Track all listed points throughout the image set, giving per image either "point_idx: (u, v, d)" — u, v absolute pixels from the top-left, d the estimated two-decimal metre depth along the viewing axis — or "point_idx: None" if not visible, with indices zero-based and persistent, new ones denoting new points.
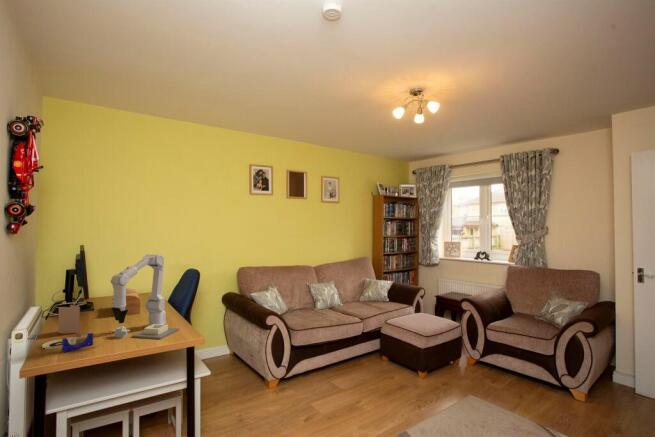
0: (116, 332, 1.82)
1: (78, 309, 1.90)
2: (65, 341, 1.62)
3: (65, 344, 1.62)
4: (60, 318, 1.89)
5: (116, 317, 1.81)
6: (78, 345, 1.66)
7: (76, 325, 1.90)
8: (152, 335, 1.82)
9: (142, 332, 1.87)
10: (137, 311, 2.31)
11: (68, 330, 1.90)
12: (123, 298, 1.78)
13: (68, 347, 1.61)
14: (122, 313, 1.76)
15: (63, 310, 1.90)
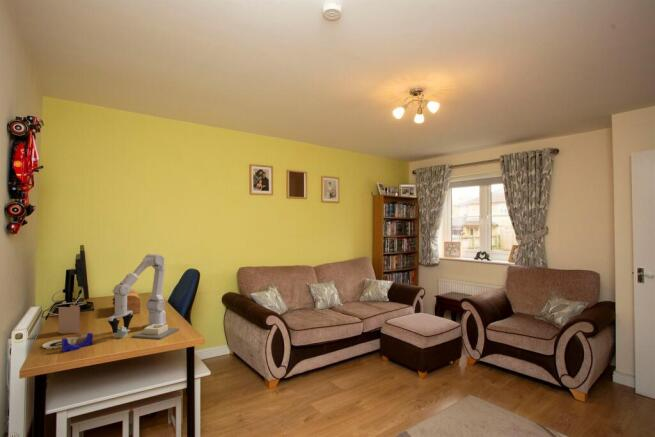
0: None
1: (78, 309, 1.90)
2: (65, 341, 1.62)
3: (65, 344, 1.62)
4: (60, 318, 1.89)
5: (124, 325, 1.87)
6: (78, 345, 1.67)
7: (76, 325, 1.90)
8: (152, 335, 1.82)
9: (142, 332, 1.87)
10: (137, 311, 2.31)
11: (68, 330, 1.90)
12: (119, 308, 1.81)
13: (68, 347, 1.62)
14: None
15: (63, 310, 1.90)
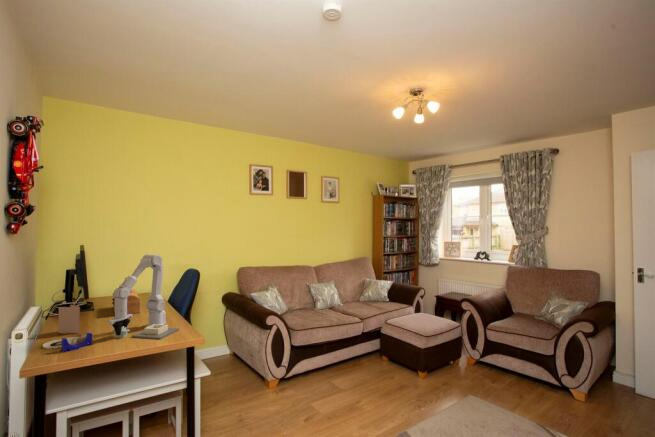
0: None
1: (78, 309, 1.90)
2: (64, 341, 1.62)
3: (64, 344, 1.62)
4: (60, 318, 1.89)
5: None
6: (77, 345, 1.67)
7: (76, 325, 1.90)
8: (152, 335, 1.82)
9: (142, 332, 1.87)
10: (137, 311, 2.32)
11: (68, 330, 1.90)
12: (119, 312, 1.81)
13: (67, 347, 1.62)
14: None
15: (63, 310, 1.90)
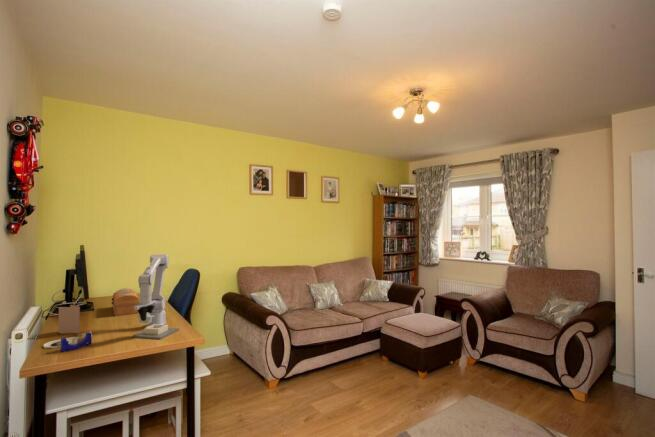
0: None
1: (78, 309, 1.90)
2: (64, 341, 1.63)
3: (64, 343, 1.63)
4: (60, 318, 1.89)
5: None
6: (77, 344, 1.67)
7: (76, 325, 1.90)
8: (152, 335, 1.82)
9: (142, 332, 1.87)
10: (136, 311, 2.32)
11: (68, 330, 1.90)
12: (144, 298, 1.84)
13: (67, 346, 1.62)
14: None
15: (63, 309, 1.90)
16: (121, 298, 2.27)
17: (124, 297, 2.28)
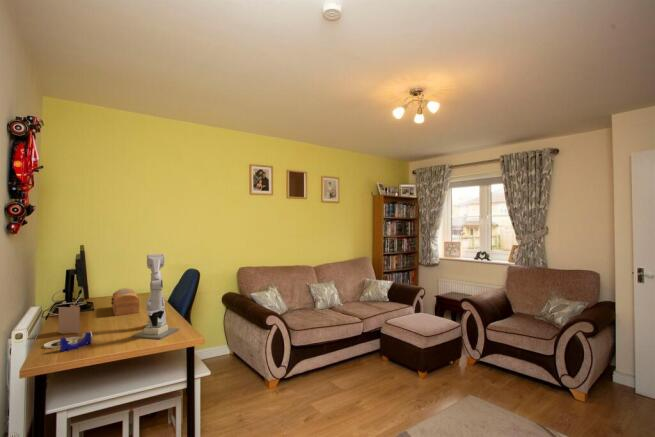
0: (151, 323, 1.87)
1: (78, 309, 1.90)
2: (63, 340, 1.63)
3: (63, 343, 1.63)
4: (60, 318, 1.89)
5: None
6: (76, 344, 1.67)
7: (76, 325, 1.90)
8: (152, 335, 1.82)
9: (142, 332, 1.87)
10: (136, 311, 2.32)
11: (68, 330, 1.90)
12: (156, 303, 1.86)
13: (66, 346, 1.62)
14: (154, 317, 1.86)
15: (63, 310, 1.90)
16: (121, 298, 2.27)
17: (124, 297, 2.28)
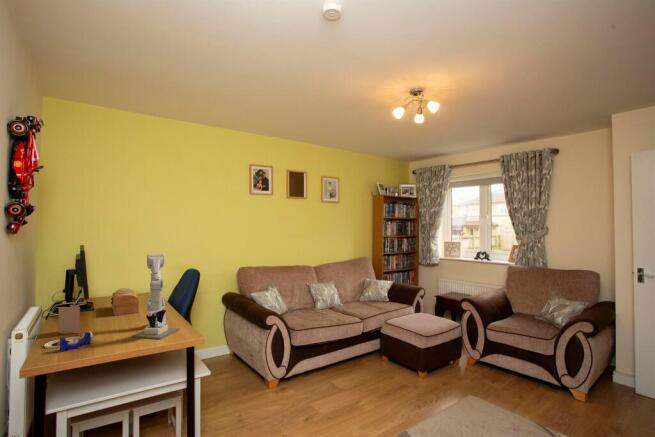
0: None
1: (78, 309, 1.90)
2: (63, 340, 1.63)
3: (63, 343, 1.63)
4: (60, 318, 1.89)
5: (158, 320, 1.92)
6: (76, 344, 1.68)
7: (76, 325, 1.90)
8: (152, 335, 1.82)
9: (142, 332, 1.87)
10: (135, 311, 2.33)
11: (68, 330, 1.90)
12: (156, 304, 1.86)
13: (66, 346, 1.63)
14: (152, 318, 1.84)
15: (63, 310, 1.90)
16: (120, 298, 2.28)
17: (123, 297, 2.29)
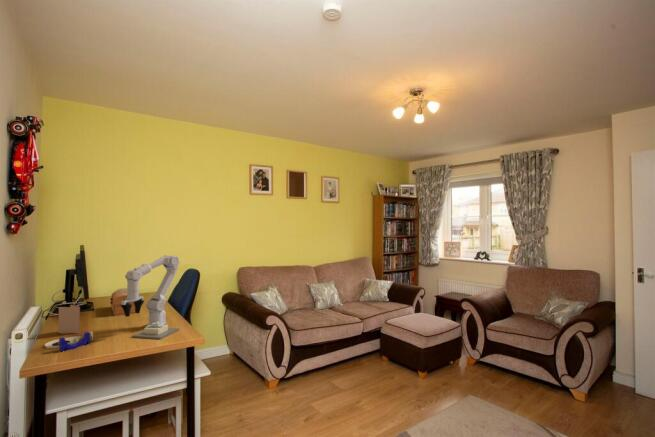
0: (151, 327, 1.87)
1: (78, 309, 1.90)
2: (62, 340, 1.63)
3: (62, 343, 1.63)
4: (60, 318, 1.89)
5: (136, 310, 1.94)
6: (75, 344, 1.68)
7: (76, 325, 1.90)
8: (152, 335, 1.82)
9: (142, 332, 1.87)
10: None
11: (68, 330, 1.90)
12: (131, 293, 1.88)
13: (65, 346, 1.63)
14: None
15: (63, 310, 1.90)
16: (120, 298, 2.28)
17: (123, 297, 2.29)
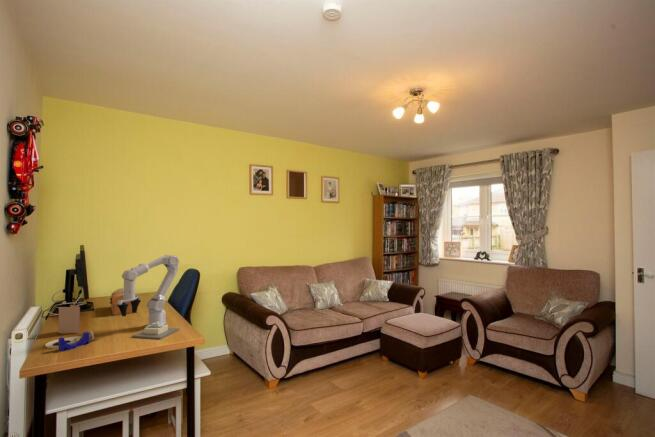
0: (151, 327, 1.87)
1: (78, 309, 1.90)
2: (62, 340, 1.63)
3: (62, 343, 1.63)
4: (60, 318, 1.89)
5: (132, 309, 1.94)
6: (74, 344, 1.68)
7: (76, 325, 1.90)
8: (152, 335, 1.82)
9: (142, 332, 1.87)
10: None
11: (68, 330, 1.90)
12: (127, 293, 1.88)
13: (65, 346, 1.63)
14: None
15: (63, 309, 1.90)
16: (119, 298, 2.28)
17: (122, 297, 2.29)
